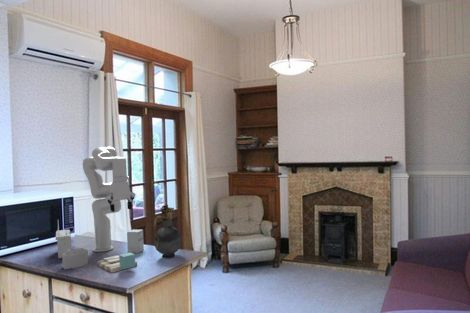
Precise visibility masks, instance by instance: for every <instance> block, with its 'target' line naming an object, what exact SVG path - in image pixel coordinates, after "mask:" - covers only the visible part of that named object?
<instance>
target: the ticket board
mask: <svg viewBox="0 0 470 313" xmlns="http://www.w3.org/2000/svg"><path fill="white" fill-rule="evenodd" d="M97 266H99V267H100V268H103V269H105V270H106V271H108V272H110V273H115V272H118V271H123V270H126V269H131V268H134V267H137V266H138V261H136V260H135V266H133V267H129V268H125V269H123V268H121V267H120V261H119V255H118V254H116V255H112V256H106V257H103V259H101V260H98V261H97Z"/></svg>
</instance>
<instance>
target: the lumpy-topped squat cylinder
mask: <svg viewBox="0 0 470 313" xmlns="http://www.w3.org/2000/svg"><path fill="white" fill-rule="evenodd" d="M61 259H62V261H61V262H62V269H63V268H64V270H69V269H70V268H72V269H77V268H80V267H83V266H86V265H88V264H89V251H88V249H85V248H84V247H76V248H74V249H68V250H67V251H66V252H65V253H63V254H62V258H61Z"/></svg>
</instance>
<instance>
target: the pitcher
mask: <svg viewBox="0 0 470 313" xmlns="http://www.w3.org/2000/svg"><path fill="white" fill-rule="evenodd" d="M174 210H175V207H169V204H165V205H163V206H161V208H160V212H161V215H157V216H155V219H154V221H153V222H154V223H153V228H154V231H155V232H154V233H155V234H154V242H153V243H154V244H153V245H154V248H155V250H156V251H157V252H159V254H162V255H161V258H162V259H171V258H174V257H176V253H177V252H178V251H179V250H180V248H181V245H182V234H181V231H180V230H178V228H176V227H174V226H172V225H173V223H172V220H173V215H172V214H173V211H174ZM160 219H162V227H161V228H159V229H158V230H157V223H158V220H160Z"/></svg>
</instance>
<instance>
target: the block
mask: <svg viewBox="0 0 470 313" xmlns="http://www.w3.org/2000/svg"><path fill="white" fill-rule="evenodd" d="M135 254H136V253H128V252H127V253H121V254H119V255H118V256H119V261H120V267H121V268H123V270H126V269H125V268H127V269H130V268H129V267H131V268H134V267H133V266H135V261H136V257H135ZM135 267H136V266H135Z"/></svg>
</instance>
